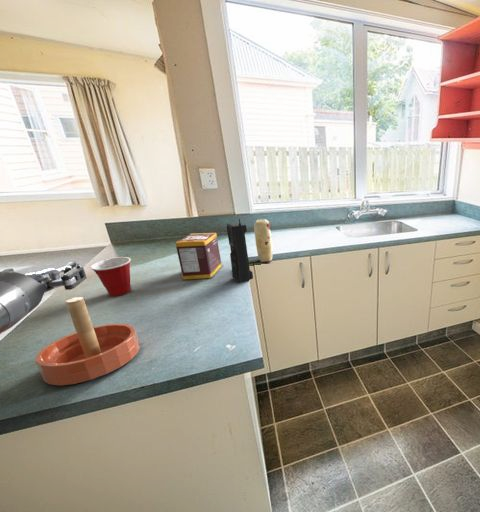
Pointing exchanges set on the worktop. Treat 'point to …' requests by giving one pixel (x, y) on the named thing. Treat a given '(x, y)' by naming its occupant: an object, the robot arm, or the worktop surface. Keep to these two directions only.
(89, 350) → the stirring stick
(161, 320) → the worktop surface
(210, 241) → the supplement box
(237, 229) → the portable radio
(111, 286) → the plastic cup
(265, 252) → the food model
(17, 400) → the worktop surface
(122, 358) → the bowl
